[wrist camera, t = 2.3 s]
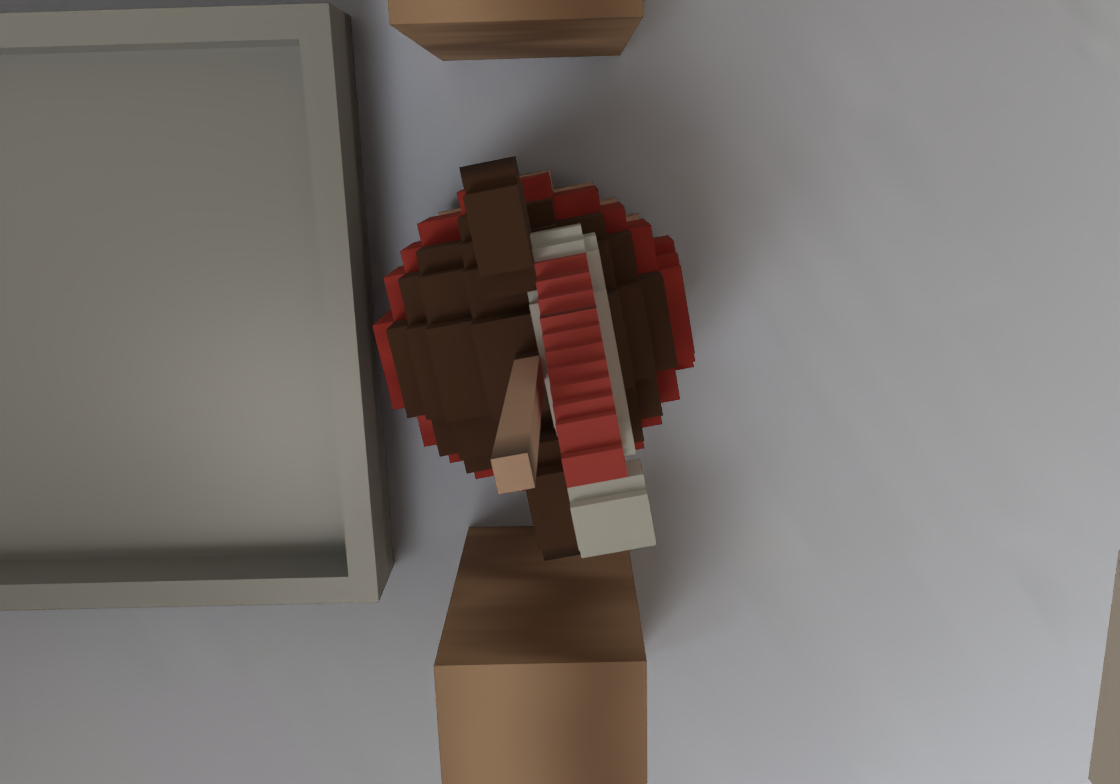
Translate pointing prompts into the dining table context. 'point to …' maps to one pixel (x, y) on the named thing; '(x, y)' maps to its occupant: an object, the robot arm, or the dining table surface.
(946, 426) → the dining table surface
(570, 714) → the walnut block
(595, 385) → the cake
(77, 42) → the tray
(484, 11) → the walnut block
